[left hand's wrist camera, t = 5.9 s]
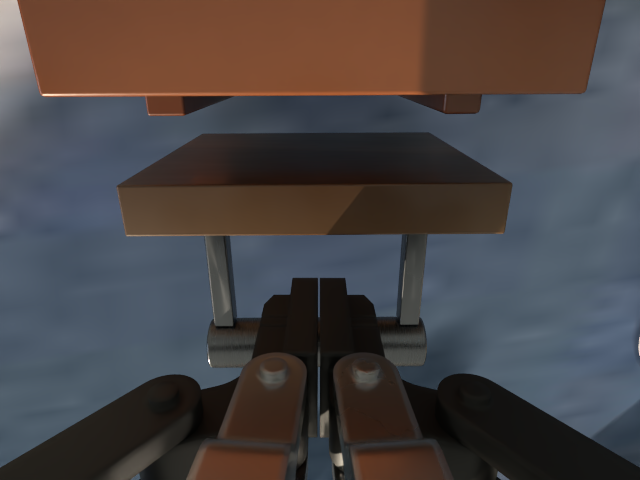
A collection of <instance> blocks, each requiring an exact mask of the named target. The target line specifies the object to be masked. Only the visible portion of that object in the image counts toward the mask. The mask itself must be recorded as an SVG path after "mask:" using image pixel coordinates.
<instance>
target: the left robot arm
mask: <svg viewBox="0 0 640 480" xmlns="http://www.w3.org/2000/svg"><path fill="white" fill-rule="evenodd" d="M317 395H318V278H293V279H292V287H291V294H290V295H273V296H272V297H271V298H270V299H269V300H268V301H267V302H266V303H265V304H264V308H263V312H262V318H261V321H260V327H259V329H258V333H257V337H256V342H255V346H254V350H253V354H252V359H251V360H250V361H249V362H248V363H247V364H246V365H245V366H244V368H243V370H242V372H241V374H240V376H239V377H238V378H236V379H234V380H233V381H231V382H228V383H226V384H223V385H219V386H215V387H211V388H207V389H202V390H201V389H200V386H199V384H198V383H197V382H196V381H195V380H194V379H192V378H191V377H188V376H185V375H165V376H161V377H157V378H155V379H152V380H150V381H148V382H146V383H144V384H142V385H141V386H139V387H137V388H135V389H134V390H132V391H130V392H129V393H127V394H125V395H123V396H122V397H120V398H118V399H117V400H115V401H113V402H112V403H110V404H108V405H106V406H105V407H103V408H101V409H100V410H98V411H96V412H95V413H93V414H91V415H89V416H88V417H86V418H84V419H83V420H81V421H79V422H77V423H76V424H74V425H72V426H71V427H69V428H67V429H66V430H64V431H62V432H60V433H59V434H57V435H55V436H54V437H52V438H50V439H48V440H47V441H45V442H43V443H42V444H40V445H38V446H37V447H35V448H33V449H31V450H30V451H28V452H26V453H25V454H23V455H21V456H19V457H18V458H16V459H14V460H13V461H11V462H9V463H8V464H6V465H4V466H2V467H1V468H0V480H130V479H132V478H133V477H134V476H136V475H137V474H138V473H139V474H140V478H141V479H139V480H307V475H308V437H317ZM320 437H329V453H330V457H331V460H332V475H333V480H501V479H499V478H498V477H497V472H498V471H499V472H500V473H502V474H503V475H504V476H506V477H507V478H508V479H510V480H640V468H639V467H638V466H636V465H634V464H632V463H631V462H629V461H627V460H626V459H624V458H622V457H621V456H619V455H617V454H615V453H614V452H612V451H610V450H609V449H607V448H605V447H603V446H602V445H600V444H598V443H597V442H595V441H593V440H592V439H590V438H588V437H586V436H585V435H583V434H581V433H580V432H578V431H576V430H574V429H573V428H571V427H569V426H568V425H566V424H564V423H563V422H561V421H559V420H557V419H556V418H554V417H552V416H551V415H549V414H547V413H545V412H544V411H542V410H540V409H539V408H537V407H535V406H534V405H532V404H530V403H528V402H527V401H525V400H523V399H522V398H520V397H518V396H516V395H515V394H513V393H511V392H510V391H508V390H506V389H505V388H503V387H501V386H499V385H498V384H496V383H494V382H492V381H491V380H489V379H486V378H484V377H481V376H477V375H473V374H454V375H451V376H448V377H446V378H444V379H443V380H442V381H441V382H440V384H439V386H438V390H434V389H430V388H425V387H421V386H417V385H414V384H411V383H408V382H406V381H404V380H402V379H401V377H400V374H399V372H398V370H397V368H396V366H395V365H394V364H393V363H392V362H391V361H390V360H388V359H387V358H385V354H384V349H383V345H382V340H381V336H380V331H379V327H378V323H377V318H376V314H375V309H374V305H373V304H372V303H371V302H370V301H369V300H368V299H367V298H366V297H365V296H364V295H347V289H346V281H345V278H320Z"/></svg>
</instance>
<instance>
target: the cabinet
mask: <svg viewBox="0 0 640 480" xmlns="http://www.w3.org/2000/svg"><path fill="white" fill-rule="evenodd" d="M17 1H18V5H19V9H20V13H21V17H22V22H23V26H24V30H25V34H26V38H27V42H28V47H29V51H30V55H31V59H32V63H33V67H34V72H35V76H36V80H37V84H38V88H39V92H40V94H41V95H42V96H45V97H118V96H294V95H469V94H581V93H584V92H585V91H586V88H587V84H588V79H589V75H590V70H591V65H592V61H593V56H594V52H595V47H596V43H597V38H598V33H599V29H600V24H601V20H602V15H603V10H604V6H605V1H606V0H17Z"/></svg>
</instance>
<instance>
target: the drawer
mask: <svg viewBox="0 0 640 480" xmlns="http://www.w3.org/2000/svg"><path fill="white" fill-rule="evenodd" d="M294 96H301V95H294ZM398 96H401V97H403V98H406V99H409V100H411V101H414V102H416V103H419V104H422V105H424V106H427V107H429V108H432V109H435V110H437V111H440V112H442V113H445V114H475V113H478V112H479V110H480V105H481V97H482V94H469V95H398ZM231 97H233V96H145V98H146V105H147V112H148V115H150V116H184V115H186V114H189V113H192V112H194V111H197V110H199V109H202V108H205V107H207V106H210V105H213V104H215V103H218V102H220V101H223V100H226V99H228V98H231ZM511 190H512V183H511V182H509V181H508V180H506V179H504V178H503V177H501V176H499V175H498V174H496V173H495V172H493V171H491V170H490V169H488V168H486V167H485V166H483V165H481V164H480V163H478V162H477V161H475V160H473V159H472V158H470V157H468V156H467V155H465V154H463V153H462V152H460V151H458V150H457V149H455V148H454V147H452V146H450V145H449V144H447V143H445V142H444V141H442V140H440V139H439V138H437V137H435V136H434V135H432V134H431V133H429V132H426V133H260V134H202V135H200V136H198V137H197V138H195V139H193V140H192V141H190V142H188V143H187V144H185V145H183V146H182V147H180V148H178V149H177V150H175V151H173V152H172V153H170V154H169V155H167V156H165V157H164V158H162V159H160V160H159V161H157V162H155V163H154V164H152V165H150V166H149V167H147V168H145V169H144V170H142V171H140V172H139V173H137V174H136V175H134V176H132V177H131V178H129V179H127V180H126V181H124V182H122V183H121V184H119V185H117V192H118V197H119V203H120V208H121V213H122V218H123V224H124V229H125V234H126V236H204V239H205V247H206V256H207V265H208V273H209V282H210V291H211V299H212V308H213V316H214V319H213V320H212V321H211V323H210V326H209V330H208V336H207V358H208V362H209V365H210V366H211V367H213V368H238V367H244V366H245V365H246V364H247V363H248V362H249V361H250V360H251V359H252V354H253V350H254V346H255V342H256V337H257V333H258V329H259V327H260V321H261V318H236V317H237V311H236V300H235V289H234V278H233V267H232V256H231V245H230V235H367V234H402V245H401V258H400V272H399V286H398V300H397V313H396V315H397V317H376V318H377V323H378V327H379V331H380V336H381V340H382V345H383V349H384V354H385V358H387V359H388V360H390V361H391V362H392V363H393V364H394V365H395V366H422V365H424V363H425V359H426V353H427V340H426V331H425V327H424V324H423V321H422V319H421V318H420V317H419V316H420V306H421V296H422V285H423V275H424V265H425V254H426V244H427V234H503V233H504V232H505V226H506V220H507V214H508V208H509V202H510V196H511ZM318 367H320V317H318Z"/></svg>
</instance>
